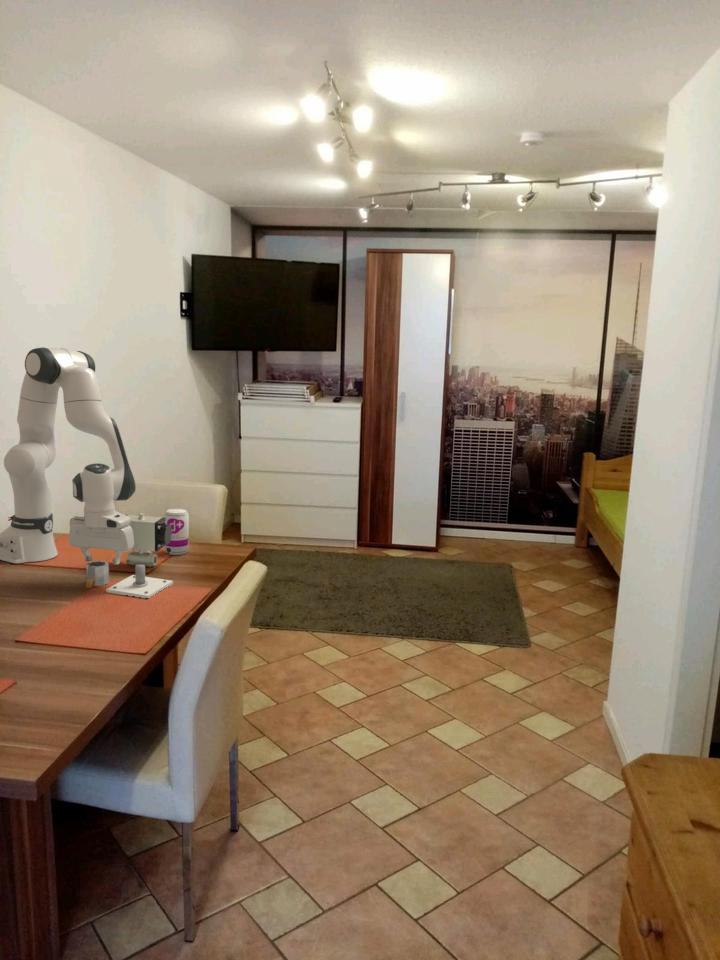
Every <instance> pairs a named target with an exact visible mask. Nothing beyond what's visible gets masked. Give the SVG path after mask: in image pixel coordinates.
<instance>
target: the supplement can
mask: <svg viewBox="0 0 720 960" xmlns="http://www.w3.org/2000/svg"><path fill="white" fill-rule="evenodd" d="M189 516H190V515H189V513H188V510H187V509H184V508H178V507H177V508H170V509H169V508H167V510H166V512H165V513H164V517H165V518H166V522H167V524H169V525H170V526H171V529H172V536H171V540H170V543H169V544H168V545H165V546H164V552H165V554H167V553H169V554H168V555H170V554H171V555H170V556H181V555H185V554H188V552H189V550H190V549H189V547H190V543H189V542H190V539H189V538H190V535H189V533H190V527H189V526H190V517H189Z"/></svg>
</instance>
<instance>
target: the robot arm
mask: <svg viewBox="0 0 720 960" xmlns="http://www.w3.org/2000/svg"><path fill="white" fill-rule="evenodd" d="M24 369H25V375H24V377H23V380H22V383H21V389H20V394H19V401H18V411H17V416H16V417H17V418H16V421H17V424H18V429H19V442H18V444H15V445H13V446H12V447H11V448H10V449H9V450H8V451H7V452H6V454H5V456H4V458H3V466H4V470H5V471H6V473H8V475H9V476H8V477H9V480H10V483H11V487H12V493H13V502H14V503H13V504H14V514H13V515H12V516H10V517H9V516H8V520H7V521H8V522H11V523H10V525H9V526H8V527H7V528H5V529H4V530H3V531H2V532H0V560H1V561H5V562H7V563H12V564H22V563H33V562H43V561H47V560H51V559H54V558H55V557H57V556H58V554H59V552H58V550H57V549H58V548H57V547H56V542H55V537H54V532H53V528H54V526H53V525H54V518H53V517H54V515H53V512H52V502H51V501H52V500H51V499H52V498H51V497H52V496H51V490H50V488H49V486H48V483H47V479H46V472H45V471H46V469H47V468H49V467H50V466H51V465H52V464H53V462H54V461H55V458H56V455H57V451H56V445H55V444H56V443H55V441H56V440H55V420H56V415H57V414H56V411H57V407H58V406H57V405H58V398H59V392H60V391H59V390H60V389H62V393H63V407H64V412H65V417H66V420H67V422H68V423H69V424H70V426H72V427H73V428H74V429H77V430H79V431H81V432H83V433H85V434H90V435H93V436H96V437H98V438H100V439H102V440H104V442H105V443H106V444H107V446H108V449H109V453H110V456H111V460H112V462H113V463H112V464H113V469H111V467H110V465H107V464H105V463H91V464H87V465H85V466H84V468H83V471H82V472H78V473H77V474H76V475H75V476H74V477H73V478H72V497H73V498H75V499H76V500H77V501H79V502H80V503H84V505H83V516H77V515H75V516H72V518H70V519H69V533H68V534H69V535H68V537H69V539H68V543H69V546H71V547H75V548H80V552H81V553H82V555H83V557H84V562H87V563H89V562H92V561H93V554H90V552H89V549H94V550H95V549H96V550H105V551H106V550H107V551H114V554H116V555H115V557H113V558H112V564H113V565H119V564H120V562H121V557H122V555H123V553H125V552H127V553H128V552H130V551H131V550H132V548H133V547H134V536H133V530H132V528H131V526H130V525H128V524H130V523H131V518H130V517H128V516H126V515H127V514H123V513H121V512H119V511H117V510H116V505H115V503H114V502H115V501H127V500H129V499H130V498H131V497H132V496H133V495H134V494H135V493H136V489H137V488H136V487H137V486H136V485H137V484H136V480H135V476H134V475H133V474H134V473H133V472H132V470H131V469H132V468H131V467H130V463H129V459H128V456H127V452H126V449H125V447H124V446H125V445H124V443H123V439H122V437H121V433H120V430H119V427H118V425H117V422H116V421H115V419H114V418H112V417H111V416H109V415H108V414H107V412H106V410H105V409H104V404H103V400H102V398H103V397H102V392H101V387H100V383H99V380H98V379H99V378H98V376H97V373H96V363H95V360H94V358H93V357H92V356H91V354H88V353H86V352H83V351H81V350H73V349H68V348H56V347H55V348H51V347H49V348H48V347H44V346H43V347H35V348H33V349H31V350H29V351H28V352H27V354H26V356H25V360H24ZM60 387H61V388H60Z"/></svg>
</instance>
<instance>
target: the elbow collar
mask: <svg viewBox="0 0 720 960" xmlns="http://www.w3.org/2000/svg"><path fill="white" fill-rule="evenodd" d="M109 566H110V565H109V563H108V561H107V560H106V561H104V560H92V561H90V562H87V563H86V567H85V569H86V581H85V587H86V588H88V589H91V588H93V587H101V586H102V587H103V586H105V584H106V585H108V584H109V583H110V573H109V572H110V568H109Z"/></svg>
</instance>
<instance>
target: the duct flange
mask: <svg viewBox="0 0 720 960" xmlns="http://www.w3.org/2000/svg"><path fill="white" fill-rule="evenodd" d="M134 571H135V574H132V575H130V576H127V577H126V578H124V579H122V580H121V581H118V582H117V583H115V584H114V585H112V586H109V587H108V588H106V589H105V592H106V593H109V594H114V595H115V594H116V595H119V596H120V595H121V596H126V595H128V597H132V596H135V597H134V598H139V597H141V598H140V599H145V598H149V599H151V598H152V597H151V596H153V595H154V596H156V595H157V594H156V593H158V592H159V591H161V590H162V591H164V590H165V589H164V588H166V587H167V588H169V587H171V586H172V585H173V584H174V581H173V580H168V579H163V578H156V577H151V576H146V566H145V565H142V564H139V565H136V566H134ZM168 586H169V587H168ZM167 588H166V589H167ZM163 589H164V590H163ZM162 591H161V592H162ZM159 593H160V592H159ZM159 593H158V594H159ZM155 594H156V595H155ZM154 596H153V597H154ZM150 597H151V598H150Z"/></svg>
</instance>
